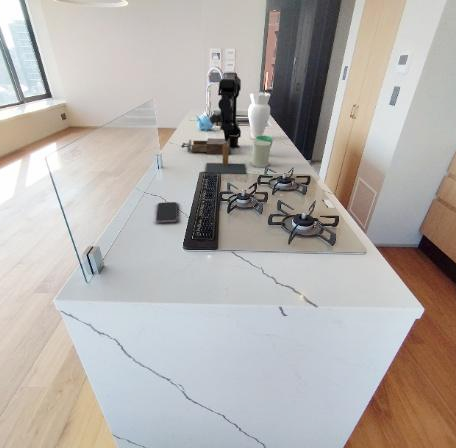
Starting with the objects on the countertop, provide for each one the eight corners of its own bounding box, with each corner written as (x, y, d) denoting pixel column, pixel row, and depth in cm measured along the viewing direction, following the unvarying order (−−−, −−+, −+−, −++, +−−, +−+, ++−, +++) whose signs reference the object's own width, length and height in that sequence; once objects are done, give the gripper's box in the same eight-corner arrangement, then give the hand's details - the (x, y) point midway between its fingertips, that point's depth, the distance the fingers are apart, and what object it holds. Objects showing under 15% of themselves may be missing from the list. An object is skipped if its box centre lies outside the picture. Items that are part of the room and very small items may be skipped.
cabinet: (206, 154, 167) (206, 143, 164) (207, 148, 178) (207, 138, 175) (229, 154, 167) (230, 144, 164) (229, 148, 178) (229, 138, 175)
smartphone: (176, 202, 112) (177, 219, 99) (177, 204, 112) (177, 222, 99) (158, 202, 111) (155, 221, 98) (158, 205, 111) (155, 223, 98)
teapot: (214, 131, 216) (215, 117, 210) (197, 132, 214) (197, 117, 208) (212, 127, 227) (212, 114, 221) (195, 128, 224) (195, 114, 219)
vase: (242, 138, 198) (245, 93, 183) (252, 134, 209) (255, 91, 194) (261, 142, 192) (266, 95, 177) (270, 137, 202) (275, 93, 187)
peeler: (222, 165, 150) (222, 143, 144) (222, 163, 153) (222, 141, 147) (228, 165, 150) (229, 143, 144) (228, 163, 153) (229, 141, 147)
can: (270, 162, 156) (272, 140, 150) (266, 168, 149) (269, 145, 142) (253, 160, 159) (255, 138, 152) (249, 165, 151) (251, 143, 145)
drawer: (181, 152, 167) (180, 144, 165) (183, 146, 177) (183, 139, 175) (208, 152, 167) (208, 145, 165) (209, 147, 177) (209, 140, 175)
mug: (271, 158, 163) (273, 140, 158) (254, 157, 164) (256, 139, 159) (270, 150, 176) (272, 134, 170) (254, 149, 176) (255, 133, 171)
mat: (244, 164, 153) (244, 163, 153) (245, 174, 141) (245, 173, 141) (207, 163, 153) (207, 163, 153) (205, 173, 141) (205, 172, 141)
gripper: (211, 104, 145) (211, 135, 153) (209, 110, 129) (209, 145, 137) (233, 105, 145) (231, 136, 153) (234, 111, 129) (232, 145, 137)
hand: (226, 140), depth 145 cm, fingers closed
